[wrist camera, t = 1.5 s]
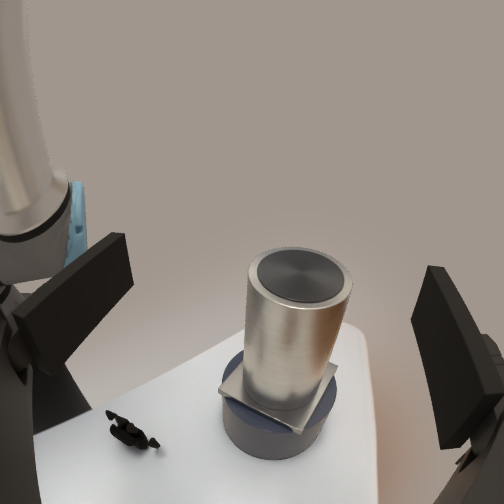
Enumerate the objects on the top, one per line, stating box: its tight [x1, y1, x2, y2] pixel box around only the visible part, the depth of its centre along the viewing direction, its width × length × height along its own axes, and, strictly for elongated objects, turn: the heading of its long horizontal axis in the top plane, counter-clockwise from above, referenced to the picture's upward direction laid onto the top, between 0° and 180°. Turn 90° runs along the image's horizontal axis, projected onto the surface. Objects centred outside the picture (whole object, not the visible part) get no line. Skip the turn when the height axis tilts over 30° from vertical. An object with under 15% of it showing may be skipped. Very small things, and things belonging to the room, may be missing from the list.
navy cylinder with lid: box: [218, 350, 338, 460], centre depth 29 cm, size 11×11×8 cm
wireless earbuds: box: [105, 410, 160, 450], centre depth 26 cm, size 7×2×5 cm, turn 66°
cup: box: [242, 247, 353, 410], centre depth 24 cm, size 7×7×12 cm
